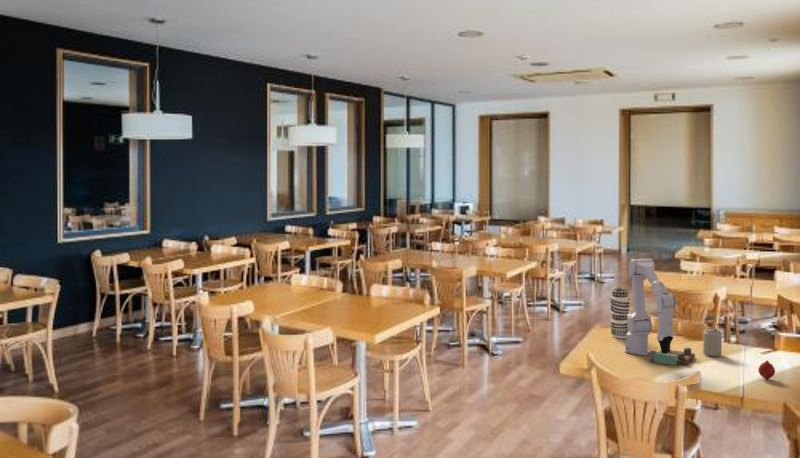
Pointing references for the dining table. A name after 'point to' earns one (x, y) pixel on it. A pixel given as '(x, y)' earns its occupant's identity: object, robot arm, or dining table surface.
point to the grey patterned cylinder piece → (619, 312)
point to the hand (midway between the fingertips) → (664, 353)
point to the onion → (766, 370)
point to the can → (712, 342)
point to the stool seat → (682, 356)
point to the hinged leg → (663, 358)
